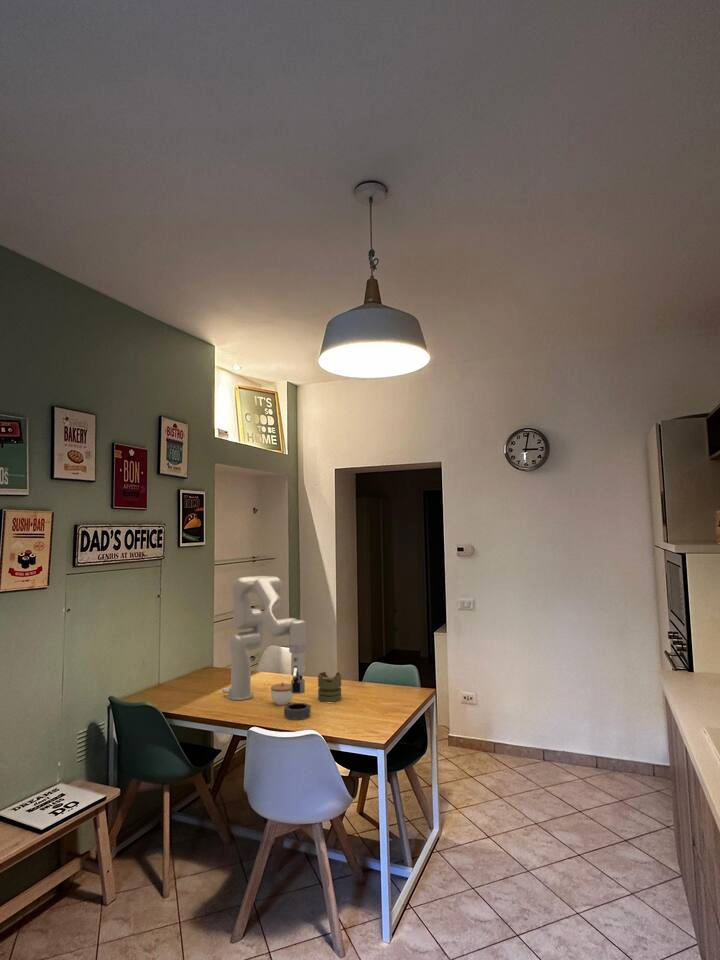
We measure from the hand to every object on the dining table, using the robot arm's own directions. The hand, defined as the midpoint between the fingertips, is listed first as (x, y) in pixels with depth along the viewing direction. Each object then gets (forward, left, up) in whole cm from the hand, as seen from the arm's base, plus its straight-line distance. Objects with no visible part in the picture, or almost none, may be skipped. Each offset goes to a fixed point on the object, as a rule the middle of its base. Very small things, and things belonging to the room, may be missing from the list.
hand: (297, 689), depth 244 cm
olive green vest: (+11, +26, -12) cm, 31 cm away
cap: (0, 0, -1) cm, 1 cm away
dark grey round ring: (0, 0, -11) cm, 11 cm away
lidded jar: (-11, +19, -12) cm, 25 cm away
